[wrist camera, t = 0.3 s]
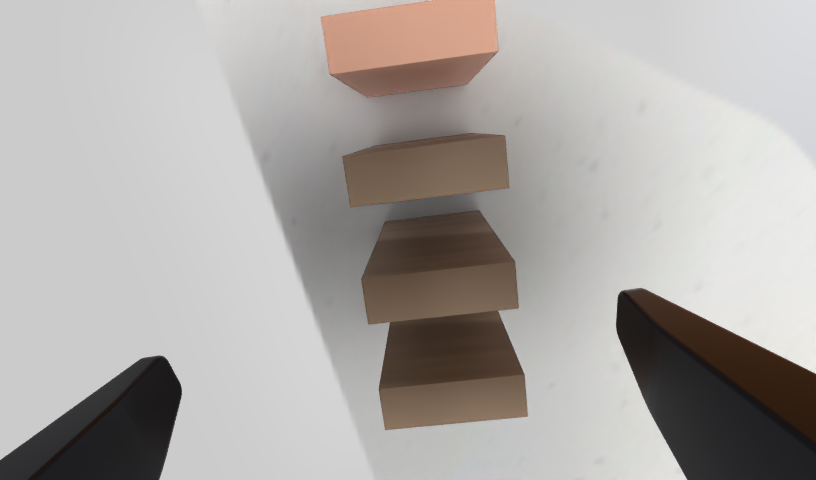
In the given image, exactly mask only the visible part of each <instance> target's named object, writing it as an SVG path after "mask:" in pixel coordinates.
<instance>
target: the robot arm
mask: <svg viewBox="0 0 816 480" xmlns="http://www.w3.org/2000/svg"><path fill="white" fill-rule="evenodd" d="M616 329H617V334H618V337H619V340H620V342H621V345H622V347H623V349H624V352H625V354H626V357H627V359H628V362H629V364H630V366H631V369H632V371H633V374H634V376H635V379H636V381H637V383H638V386H639V388H640V391H641V393H642V396H643V398H644V400H645V402H646V405H647V407H648V409H649V411H650V413H651V415H652V417H653V419H654V421H655V422H656V424H657V426H658V428H659V430H660V431H661V433H662V435H663V437H664V439H665V440H666V442H667V444H668V446H669V448H670V449H671V451H672V453H673V455H674V457H675V458H676V460H677V462H678V464H679V466H680V467H681V469H682V471H683V473H684V475H685V477H686V478H687V480H816V374H815V373H813V372H811V371H809V370H807V369H805V368H803V367H801V366H799V365H797V364H795V363H793V362H791V361H789V360H787V359H785V358H783V357H781V356H779V355H777V354H775V353H773V352H771V351H769V350H767V349H765V348H763V347H761V346H759V345H757V344H755V343H753V342H751V341H749V340H747V339H745V338H742V337H740V336H738V335H736V334H734V333H732V332H730V331H728V330H726V329H724V328H722V327H720V326H718V325H716V324H714V323H712V322H710V321H708V320H706V319H704V318H702V317H700V316H698V315H696V314H694V313H692V312H690V311H688V310H686V309H684V308H682V307H680V306H678V305H676V304H674V303H672V302H670V301H668V300H666V299H664V298H662V297H660V296H658V295H656V294H654V293H652V292H650V291H648V290H645V289H643V288H637V289H630V290H623V291H621V292H620V293H619V295H618V303H617V319H616ZM181 395H182V388H181V384H180V382H179V380H178V378H177V377H176V375H175V373H174V371H173V369H172V367H171V366H170V364H169V362H168V360H167V359H166V358H165V357H163V356H154V357H147V358H142V359H140V360H139V361H137V362H136V363H134V364H133V365H132V366H130V367H129V368H127V369H126V370H125V371H123V372H122V373H120V374H119V375H118V376H116V377H115V378H114V379H112V380H111V381H110V382H108V383H107V384H105V385H104V386H103V387H101V388H100V389H98V390H97V391H96V392H94V393H93V394H91V395H90V396H89V397H87V398H86V399H85V400H83V401H82V402H80V403H79V404H77V405H76V406H75V407H73V408H72V409H70V410H69V411H68V412H66V413H65V414H64V415H62V416H61V417H59V418H58V419H57V420H55V421H54V422H52V423H51V424H50V425H48V426H47V427H46V428H44V429H43V430H42V431H40V432H39V433H37V434H36V435H34V436H33V437H32V438H30V439H29V440H28V441H26V442H25V443H23V444H22V445H21V446H19V447H18V448H16V449H15V450H14V451H12V452H11V453H10V454H8V455H7V456H5V457H4V458H3V459H1V460H0V480H159V479H160V476H161V472H162V469H163V466H164V462H165V459H166V456H167V452H168V448H169V444H170V440H171V436H172V432H173V428H174V424H175V420H176V416H177V412H178V408H179V404H180V400H181Z"/></svg>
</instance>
